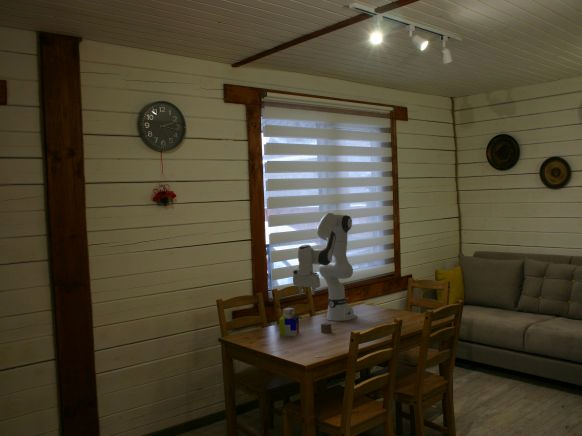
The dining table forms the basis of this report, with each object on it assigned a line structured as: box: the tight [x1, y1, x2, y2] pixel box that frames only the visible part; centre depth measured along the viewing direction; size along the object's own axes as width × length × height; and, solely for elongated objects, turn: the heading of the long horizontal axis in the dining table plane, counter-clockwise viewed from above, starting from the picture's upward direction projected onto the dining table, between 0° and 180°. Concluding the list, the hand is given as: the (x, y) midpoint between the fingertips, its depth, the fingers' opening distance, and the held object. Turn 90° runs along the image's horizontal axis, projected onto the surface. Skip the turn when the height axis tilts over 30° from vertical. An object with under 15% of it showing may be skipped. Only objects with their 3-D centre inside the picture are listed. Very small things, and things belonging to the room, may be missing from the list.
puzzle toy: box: [278, 315, 300, 337], centre depth 319 cm, size 10×10×10 cm
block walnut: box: [320, 322, 333, 334], centre depth 321 cm, size 4×4×5 cm
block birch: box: [282, 307, 296, 319], centre depth 319 cm, size 5×5×6 cm
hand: (307, 293), depth 320 cm, fingers open, 8 cm apart
